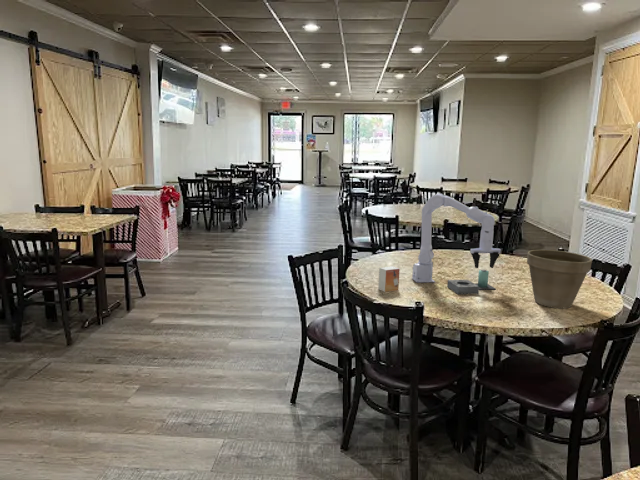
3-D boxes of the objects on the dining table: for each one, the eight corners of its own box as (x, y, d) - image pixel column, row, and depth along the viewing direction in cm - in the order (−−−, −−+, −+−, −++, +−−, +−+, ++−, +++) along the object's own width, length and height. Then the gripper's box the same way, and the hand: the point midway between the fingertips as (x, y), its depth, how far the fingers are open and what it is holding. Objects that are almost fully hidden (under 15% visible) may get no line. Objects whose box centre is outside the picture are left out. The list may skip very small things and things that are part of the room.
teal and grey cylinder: (480, 287, 229) (481, 271, 228) (476, 284, 234) (477, 269, 232) (489, 287, 230) (490, 271, 228) (485, 284, 234) (486, 269, 233)
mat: (477, 290, 227) (478, 289, 227) (469, 284, 236) (469, 283, 236) (495, 289, 228) (495, 288, 228) (486, 284, 237) (486, 283, 237)
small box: (384, 292, 221) (385, 270, 219) (377, 289, 226) (378, 267, 224) (398, 290, 224) (400, 268, 222) (391, 287, 229) (392, 265, 227)
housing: (457, 294, 220) (458, 287, 219) (447, 286, 231) (447, 279, 231) (478, 293, 221) (479, 286, 221) (466, 286, 233) (467, 279, 232)
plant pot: (576, 297, 219) (582, 251, 215) (593, 315, 195) (600, 263, 191) (518, 292, 224) (522, 247, 220) (528, 309, 201) (533, 259, 196)
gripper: (476, 241, 223) (473, 270, 225) (505, 241, 225) (502, 269, 227) (469, 238, 229) (466, 266, 232) (497, 238, 232) (494, 265, 234)
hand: (483, 267), depth 230 cm, fingers open, 7 cm apart
